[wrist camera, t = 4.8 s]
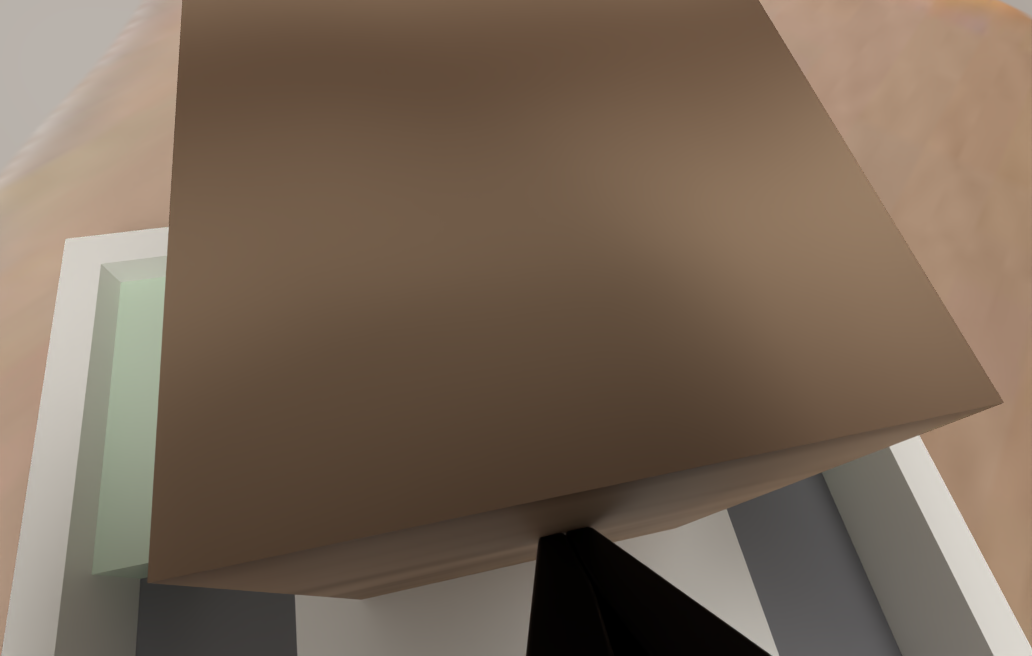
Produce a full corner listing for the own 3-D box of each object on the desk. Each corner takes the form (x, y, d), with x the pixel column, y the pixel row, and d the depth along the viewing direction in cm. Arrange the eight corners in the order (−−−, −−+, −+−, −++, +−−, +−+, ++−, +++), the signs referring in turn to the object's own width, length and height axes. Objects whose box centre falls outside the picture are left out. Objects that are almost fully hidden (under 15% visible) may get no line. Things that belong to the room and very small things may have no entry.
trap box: (1073, 969, 13) (1259, 1080, 10) (34, 1397, 10) (-171, 1769, 7) (729, 219, 23) (772, 156, 19) (131, 299, 19) (65, 239, 16)
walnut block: (676, 528, 15) (1004, 403, 6) (361, 599, 13) (147, 582, 4) (593, 268, 18) (718, -67, 9) (336, 306, 17) (184, -41, 8)
